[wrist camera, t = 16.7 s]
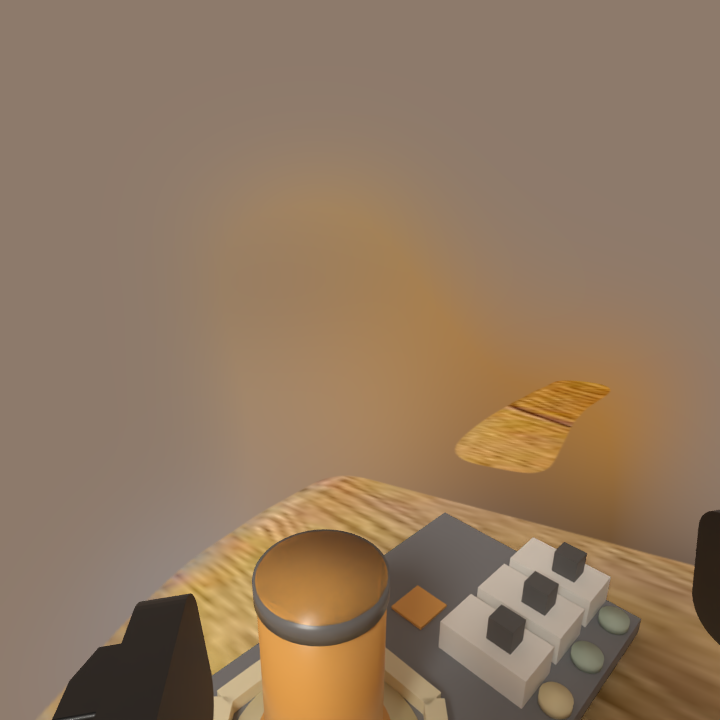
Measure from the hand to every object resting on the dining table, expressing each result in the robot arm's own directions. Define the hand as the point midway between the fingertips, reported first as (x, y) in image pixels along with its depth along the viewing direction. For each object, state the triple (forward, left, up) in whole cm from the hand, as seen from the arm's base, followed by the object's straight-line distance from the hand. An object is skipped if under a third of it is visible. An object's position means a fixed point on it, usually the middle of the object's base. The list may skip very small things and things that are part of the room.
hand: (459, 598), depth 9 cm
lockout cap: (-5, -9, -18) cm, 21 cm away
